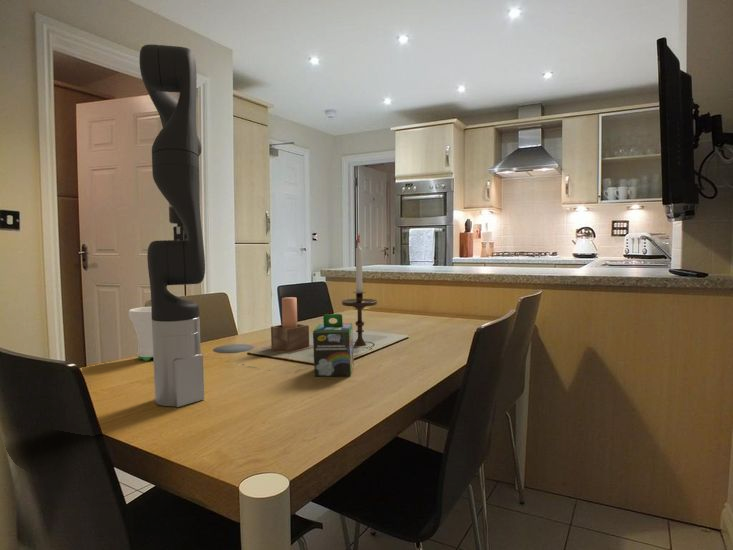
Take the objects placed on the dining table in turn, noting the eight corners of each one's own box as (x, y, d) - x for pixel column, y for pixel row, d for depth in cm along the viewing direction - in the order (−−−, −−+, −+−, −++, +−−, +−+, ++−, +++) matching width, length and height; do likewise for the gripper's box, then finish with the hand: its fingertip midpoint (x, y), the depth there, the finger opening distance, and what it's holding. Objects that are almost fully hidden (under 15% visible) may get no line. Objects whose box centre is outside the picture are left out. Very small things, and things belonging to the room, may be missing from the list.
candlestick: (377, 351, 141) (376, 232, 138) (341, 351, 141) (339, 233, 139) (377, 343, 152) (376, 233, 149) (343, 343, 152) (341, 233, 149)
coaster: (262, 349, 144) (262, 347, 144) (229, 357, 135) (229, 355, 135) (238, 345, 152) (238, 342, 152) (204, 352, 142) (204, 349, 142)
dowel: (300, 346, 144) (299, 297, 143) (290, 349, 141) (288, 299, 140) (290, 345, 147) (289, 296, 146) (280, 347, 144) (278, 298, 142)
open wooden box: (318, 348, 145) (318, 325, 144) (289, 356, 136) (288, 331, 135) (291, 343, 152) (291, 321, 152) (262, 350, 143) (261, 327, 142)
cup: (160, 351, 144) (158, 305, 143) (181, 356, 137) (179, 307, 136) (123, 359, 135) (120, 309, 134) (144, 365, 128) (141, 312, 127)
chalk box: (354, 367, 124) (353, 310, 123) (351, 377, 115) (350, 316, 114) (318, 366, 124) (317, 310, 123) (313, 376, 115) (311, 316, 114)
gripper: (191, 204, 126) (194, 265, 127) (202, 208, 140) (204, 263, 141) (162, 204, 125) (164, 266, 126) (175, 208, 139) (177, 263, 140)
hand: (185, 264), depth 133 cm, fingers open, 8 cm apart
